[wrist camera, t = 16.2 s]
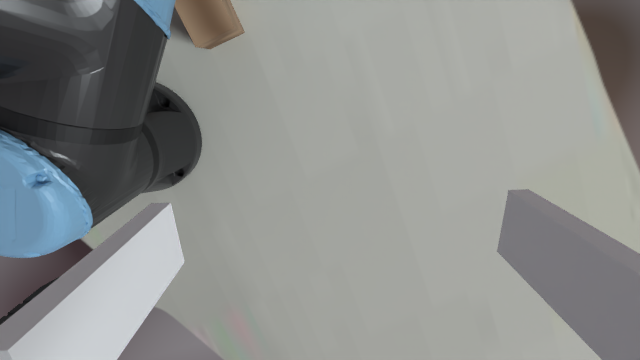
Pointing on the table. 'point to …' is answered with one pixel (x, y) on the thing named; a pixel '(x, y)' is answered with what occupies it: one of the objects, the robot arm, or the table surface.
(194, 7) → the walnut block
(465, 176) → the table surface
